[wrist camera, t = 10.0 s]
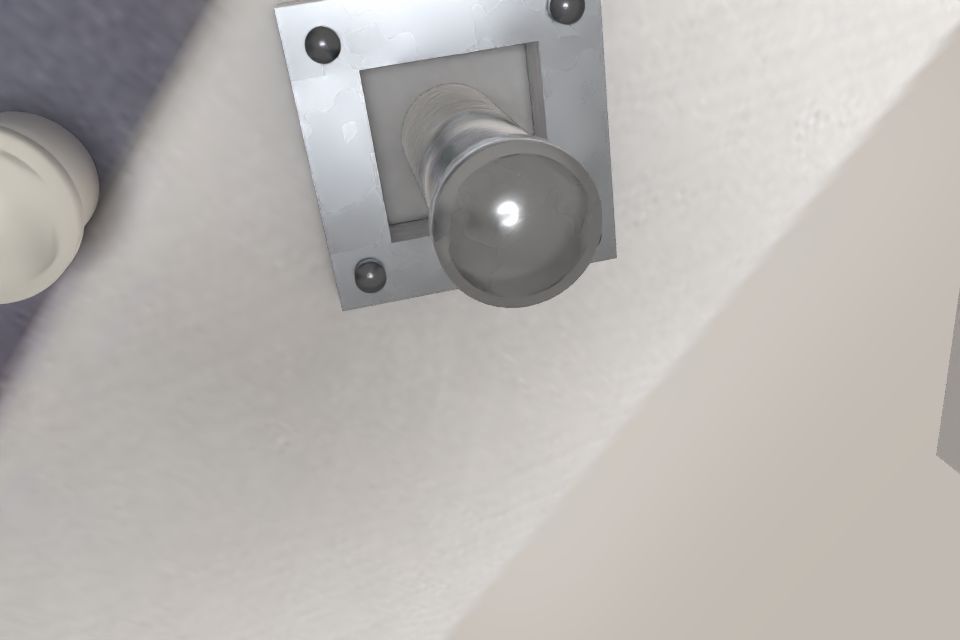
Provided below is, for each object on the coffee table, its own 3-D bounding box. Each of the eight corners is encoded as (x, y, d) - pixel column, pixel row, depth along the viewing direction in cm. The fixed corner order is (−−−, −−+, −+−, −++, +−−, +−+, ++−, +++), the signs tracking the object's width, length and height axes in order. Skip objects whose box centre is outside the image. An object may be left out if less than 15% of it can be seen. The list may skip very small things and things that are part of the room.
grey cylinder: (404, 201, 33) (447, 322, 22) (384, 85, 31) (420, 158, 20) (514, 181, 34) (607, 290, 23) (501, 66, 32) (596, 127, 21)
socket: (340, 290, 34) (342, 317, 32) (276, 4, 29) (273, 9, 27) (600, 240, 35) (621, 263, 33) (579, -42, 31) (603, -42, 28)
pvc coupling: (-24, 266, 31) (-81, 319, 27) (-89, 114, 29) (-164, 145, 24) (131, 238, 32) (101, 285, 27) (80, 87, 29) (38, 112, 25)
